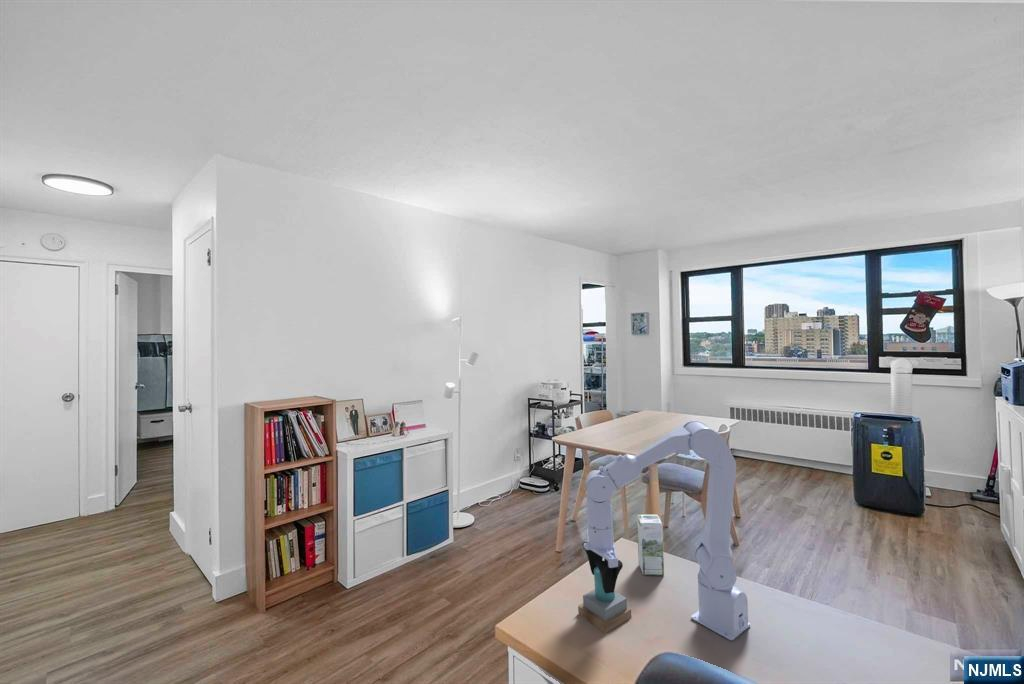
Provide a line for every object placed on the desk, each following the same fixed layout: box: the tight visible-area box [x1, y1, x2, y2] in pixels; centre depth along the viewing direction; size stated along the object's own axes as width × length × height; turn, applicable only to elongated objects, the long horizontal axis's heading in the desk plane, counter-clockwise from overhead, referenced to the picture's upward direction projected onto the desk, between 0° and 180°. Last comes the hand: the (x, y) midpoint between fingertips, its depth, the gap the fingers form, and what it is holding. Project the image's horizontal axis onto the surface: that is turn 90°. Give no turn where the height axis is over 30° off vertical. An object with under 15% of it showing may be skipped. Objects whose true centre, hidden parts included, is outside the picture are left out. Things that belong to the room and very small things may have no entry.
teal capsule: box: [593, 567, 616, 602], centre depth 100 cm, size 4×4×6 cm
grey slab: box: [582, 588, 628, 621], centre depth 100 cm, size 7×7×2 cm
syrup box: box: [636, 514, 665, 576], centre depth 118 cm, size 6×6×14 cm
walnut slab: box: [577, 602, 632, 634], centre depth 100 cm, size 8×8×2 cm
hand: (602, 582), depth 100 cm, fingers open, 7 cm apart
